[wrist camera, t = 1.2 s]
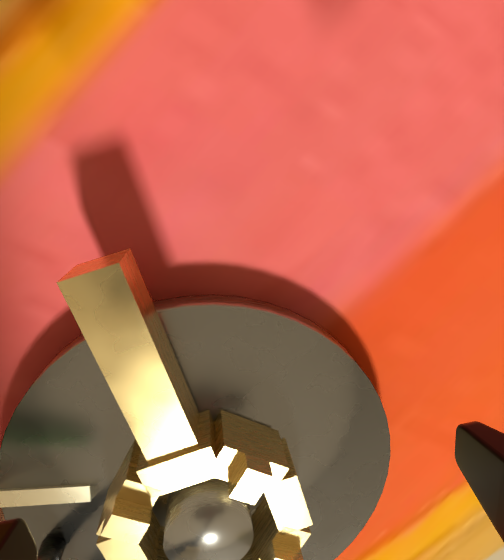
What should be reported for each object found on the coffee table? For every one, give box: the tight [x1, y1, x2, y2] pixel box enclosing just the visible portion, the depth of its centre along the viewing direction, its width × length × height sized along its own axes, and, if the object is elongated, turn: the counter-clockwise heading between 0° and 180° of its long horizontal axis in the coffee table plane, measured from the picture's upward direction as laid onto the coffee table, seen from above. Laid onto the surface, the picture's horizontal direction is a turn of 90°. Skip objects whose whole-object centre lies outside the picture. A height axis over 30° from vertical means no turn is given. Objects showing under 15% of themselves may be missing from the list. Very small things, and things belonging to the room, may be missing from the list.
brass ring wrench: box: [57, 248, 313, 560], centre depth 16 cm, size 18×9×3 cm, turn 16°
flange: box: [0, 295, 390, 560], centre depth 19 cm, size 20×20×4 cm
